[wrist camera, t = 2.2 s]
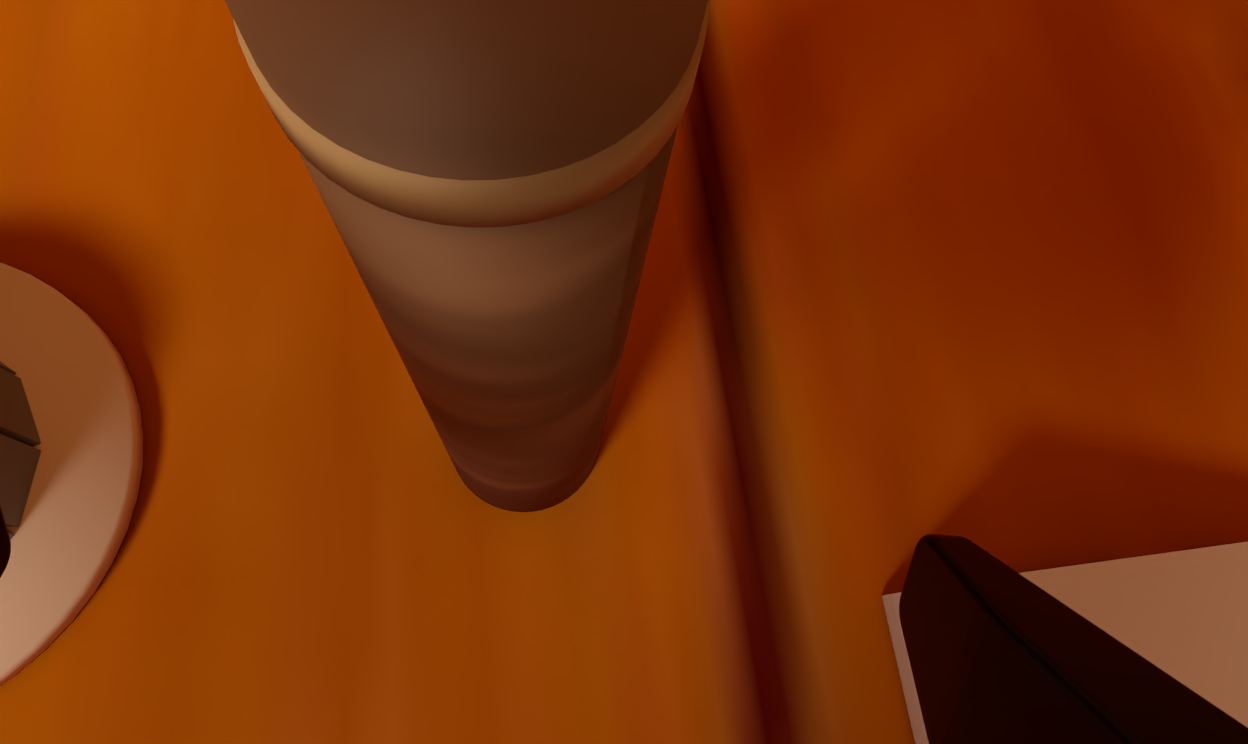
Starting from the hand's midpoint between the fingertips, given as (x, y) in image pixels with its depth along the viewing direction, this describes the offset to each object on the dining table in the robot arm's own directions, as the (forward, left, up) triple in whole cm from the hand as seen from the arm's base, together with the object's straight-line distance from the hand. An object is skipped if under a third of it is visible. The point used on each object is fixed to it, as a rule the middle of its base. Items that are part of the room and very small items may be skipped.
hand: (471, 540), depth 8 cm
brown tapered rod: (+2, +3, -11) cm, 12 cm away
